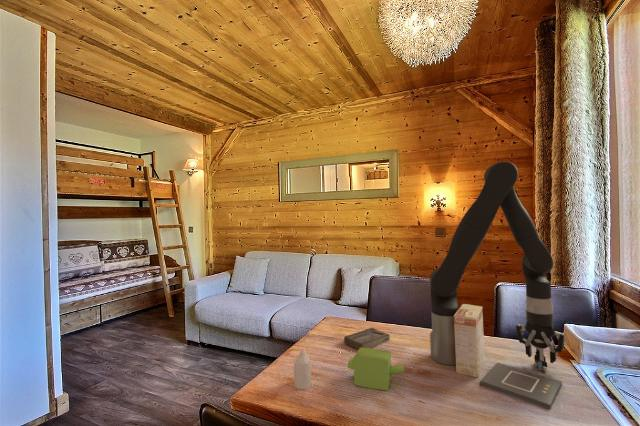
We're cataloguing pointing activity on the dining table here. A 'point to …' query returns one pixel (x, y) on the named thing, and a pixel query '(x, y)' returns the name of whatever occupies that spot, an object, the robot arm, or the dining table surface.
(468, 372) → the coffeecake box
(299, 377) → the squeeze bottle
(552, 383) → the socket plate
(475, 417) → the dining table surface
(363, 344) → the box
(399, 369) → the gearbox
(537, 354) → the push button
